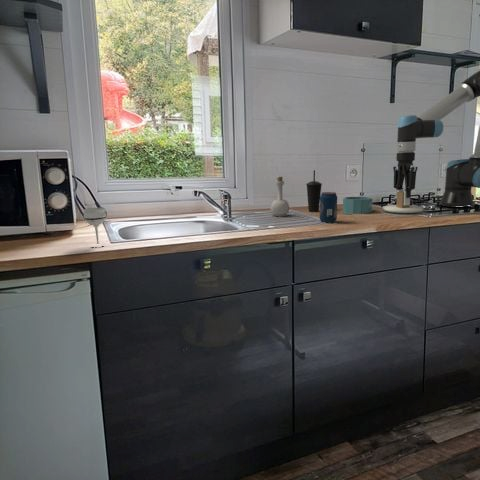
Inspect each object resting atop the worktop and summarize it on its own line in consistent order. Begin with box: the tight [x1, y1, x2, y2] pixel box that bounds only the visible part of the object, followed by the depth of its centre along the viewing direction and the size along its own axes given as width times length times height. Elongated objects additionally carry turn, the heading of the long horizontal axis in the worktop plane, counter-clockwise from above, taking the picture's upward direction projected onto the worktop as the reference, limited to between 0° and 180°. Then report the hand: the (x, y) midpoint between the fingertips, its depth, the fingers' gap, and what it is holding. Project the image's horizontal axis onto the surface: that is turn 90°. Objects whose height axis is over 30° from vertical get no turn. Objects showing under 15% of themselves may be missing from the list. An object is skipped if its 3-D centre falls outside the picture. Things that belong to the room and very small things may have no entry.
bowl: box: [342, 196, 373, 216], centre depth 181 cm, size 13×13×7 cm
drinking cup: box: [305, 170, 323, 213], centre depth 188 cm, size 8×8×20 cm
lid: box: [382, 191, 424, 213], centre depth 176 cm, size 17×17×8 cm
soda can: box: [319, 191, 338, 223], centre depth 159 cm, size 7×7×12 cm
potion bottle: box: [270, 176, 290, 217], centre depth 178 cm, size 9×9×18 cm
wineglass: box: [83, 207, 107, 244], centre depth 123 cm, size 7×7×12 cm
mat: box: [374, 209, 433, 217], centre depth 177 cm, size 18×18×1 cm
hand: (403, 204), depth 176 cm, fingers closed on lid, 4 cm apart
